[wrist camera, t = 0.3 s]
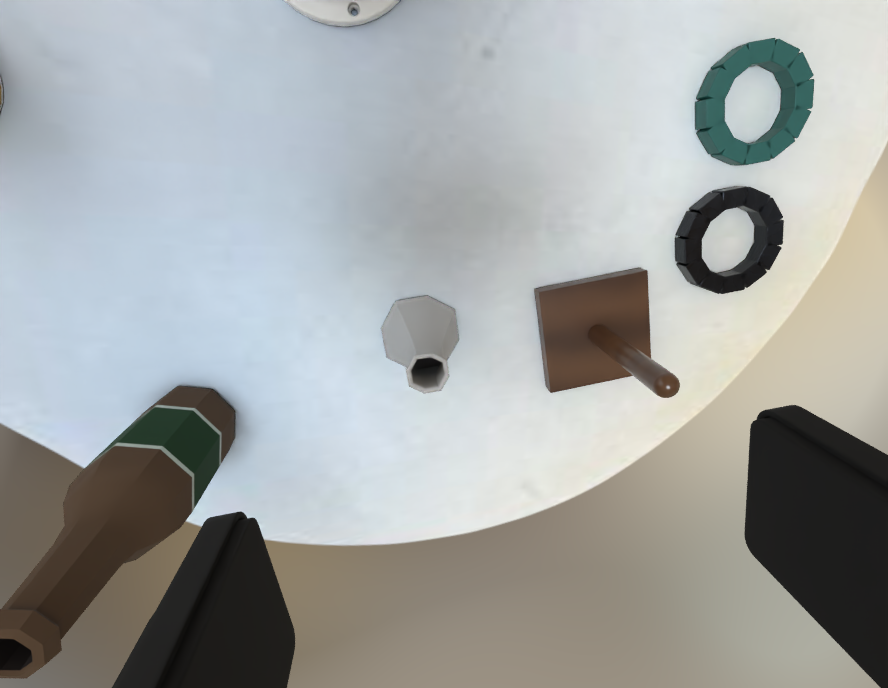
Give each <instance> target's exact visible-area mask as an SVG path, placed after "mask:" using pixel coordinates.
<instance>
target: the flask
mask: <svg viewBox="0 0 888 688" xmlns="http://www.w3.org/2000/svg"><path fill="white" fill-rule="evenodd" d="M381 331H382V336H383V341H384V346H385V351H386V357H387V358H388V359H390V360H392V361H395V362H397V363H399V364H401V365H403V366H405V367H406V368H407V369H406V372H407V378H408V383H409V387H411V388H413V389H416V390H418V391H420V392H422V393H430V392H436V391H441V390H442V388H443V387H444V385H445V383H446V381H447V380H448V378H449V371H448V364H447V360H448V358H449V356H450V355H451V353H452V351H453V349H454V348H455V346H456V344H457V342H458V341H459V335H458V328H457V320H456V313H455V310H454V309H452V308H450V307H448V306H446V305H444V304H442V303H441V302H439V301H437V300H435V299H433V298H431V297H429V296H422V297H416V298H410V299H404V300H397V301H395V303H394V305H393V307H392V308H391V310H390V312H389V314H388V316H387V318H386V320H385V322H384V324H383V326H382V327H381Z"/></svg>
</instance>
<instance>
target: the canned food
mask: <svg viewBox="0 0 888 688" xmlns="http://www.w3.org/2000/svg"><path fill="white" fill-rule="evenodd" d="M2 104H3V86H2V82H1V78H0V111H1V107H2Z"/></svg>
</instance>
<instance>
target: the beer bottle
mask: <svg viewBox="0 0 888 688" xmlns="http://www.w3.org/2000/svg"><path fill="white" fill-rule="evenodd" d="M234 425H235V411H234V410H233V409H232V408H231V407H230V406H229V405H228V404H227V403H226V402H225V401H224V400H223V399H222V398H221V397H220V396H219V395H218V394H217V393H216V392H215V391H214V390H213V389H205V388H195V387H184V386H177V387H176V388H175V389H173V390H172V391H171V392H169V393H168V394H167V395H166V396H164V397H163V398H162V399H160V400H159V401H158V402H157V403H155V404H154V405H153V406H151V407H150V408H149V409H148V410H146V411H145V412H144V413H143V414H142V415H141V416H140V417H139V418H137V419H136V420H135V421H134V422H133V423H132V424H131V425H130V426H129V427H128V428H127V429H126V430H125V431H124V432H123V433H122V434H121V435H119V436H118V437H117V438H116V439H115V440H114V441H113V442H112V443H111V444H110V445H109V446H108V447H107V448H106V449H105V450H104V451H103V452H101V453H100V454H99V455H98V456H97V457H96V458H95V459H94V460H93V461H92V462H91V463H90V464H89V465H88V466H87V467H86V468H85V469H83V471H82V472H81V473H80V474H79V475H78V476H77V478H76V479H75V480H74V481H73V482H72V483H71V485H70V486H69V489H68V491H67V495H66V497H65V500H64V503H63V505H64V506H63V507H64V522H65V526H64V528H63V529H62V531H61V533H60V534H59V536H58V538H57V539H56V541H55V543H54V545H53V546H52V547H51V548H50V549H49V551H48V552H47V553H46V554H45V556H44V557H43V558H42V560H41V561H40V562H39V563H38V564H37V566H36V567H35V568H34V569H33V571H32V572H31V573H30V574H29V576H28V577H27V578H26V579H25V581H24V582H23V583H22V584H21V585H20V587H19V588H18V589H17V590H16V592H15V593H14V594H13V595H12V597H11V598H10V599H9V600H8V602H7V603H6V604H5V605H4V607H3V608H2V609H0V678H27V677H29V676H30V675H32V674H33V673H34V672H36V671H37V670H39V669H40V668H41V667H43V666H44V665H45V664H47V662H49V661H50V660H51V659H52V658H53V657H54V656H56V655H57V654H58V653H59V652H60V651H61V650H62V648H61V639H62V638H63V637H64V635H65V634H66V633H67V632H68V630H69V629H70V628H71V627H72V625H73V624H74V623H75V622H76V620H77V619H78V618H79V617H80V615H81V614H82V613H83V612H84V610H85V609H86V608H87V607H88V606H89V604H90V603H91V602H92V600H93V599H94V598H95V597H96V596H97V594H98V593H99V592H100V590H101V589H102V588H103V587H104V586H105V584H106V583H107V582H108V581H109V580H110V578H111V577H112V576H113V575H114V573H115V572H116V571H117V570H118V568H119V567H120V566H121V565H122V564H123V563H126V562H130V561H133V560H136V559H138V558H139V557H141V556H142V555H143V554H145V553H146V552H147V551H149V550H150V549H152V548H153V547H155V546H156V545H157V544H159V543H160V542H161V541H163V540H164V539H165V538H167V537H168V536H169V535H171V534H172V533H174V532H175V531H176V530H178V529H179V528H180V527H181V526H182V525H183V523H184V522H185V521H186V519H187V518H188V517H189V515H190V514H191V513H192V511H193V510H194V508H195V506H196V505H197V503H198V501H199V500H200V498H201V496H202V495H203V493H204V491H205V490H206V488H207V486H208V485H209V483H210V481H211V479H212V478H213V476H214V474H215V473H216V471H217V469H218V468H219V466H220V464H221V463H222V461H223V459H224V458H225V456H226V454H227V453H228V451H229V449H230V447H231V445H232V443H233V441H234Z"/></svg>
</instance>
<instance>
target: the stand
mask: <svg viewBox="0 0 888 688" xmlns="http://www.w3.org/2000/svg"><path fill="white" fill-rule="evenodd" d="M535 298H536V306H537V314H538V323H539V331H540V340H541V348H542V356H543V365H544V373H545V381H546V387H547V388H548V390H549V391H550V393H553V392H557V391H562V390H567V389H572V388H577V387H581V386H586V385H591V384H596V383H600V382H605V381H610V380H615V379H620V378H624V377H629V376H634V377H636V378H637V379H638V380H639V381H640V382H642V383H643V384H644V385H645V386H647V387H648V388H649V389H650V390H651V391H653V392H654V393H655V394H656V395H658V396H660V397H663V398H669V397H672V396H674V395H675V394H676V393H677V392H678V390H679V387H680V383H679V380H678V378H677V377H676V376H675V375H674V374H672V373H671V372H669V371H668V370H667V369H665V368H664V367H662V366H661V365H659V364H658V363H656V362H655V361H654V360H652V359H651V349H650V324H649V299H648V275H647V270H644V269H641V268H636V269H631V270H626V271H621V272H616V273H611V274H606V275H601V276H596V277H591V278H586V279H581V280H576V281H571V282H566V283H561V284H556V285H551V286H546V287H541V288H536V289H535Z"/></svg>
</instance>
